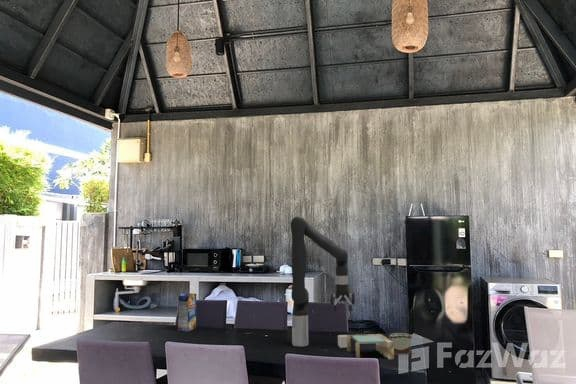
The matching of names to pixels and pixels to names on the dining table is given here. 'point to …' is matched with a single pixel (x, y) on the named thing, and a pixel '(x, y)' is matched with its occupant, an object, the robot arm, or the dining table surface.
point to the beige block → (342, 341)
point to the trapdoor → (368, 339)
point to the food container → (401, 342)
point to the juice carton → (187, 312)
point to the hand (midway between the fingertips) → (342, 311)
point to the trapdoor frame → (383, 348)
